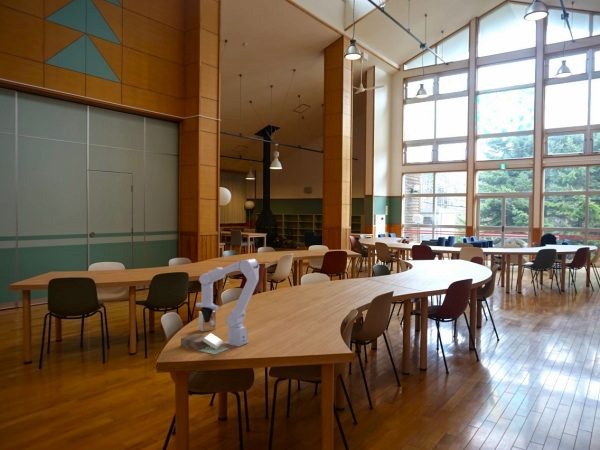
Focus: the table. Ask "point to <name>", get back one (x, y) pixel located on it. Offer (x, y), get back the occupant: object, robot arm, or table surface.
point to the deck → (194, 342)
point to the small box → (207, 322)
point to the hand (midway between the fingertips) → (207, 322)
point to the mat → (214, 350)
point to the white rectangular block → (213, 341)
